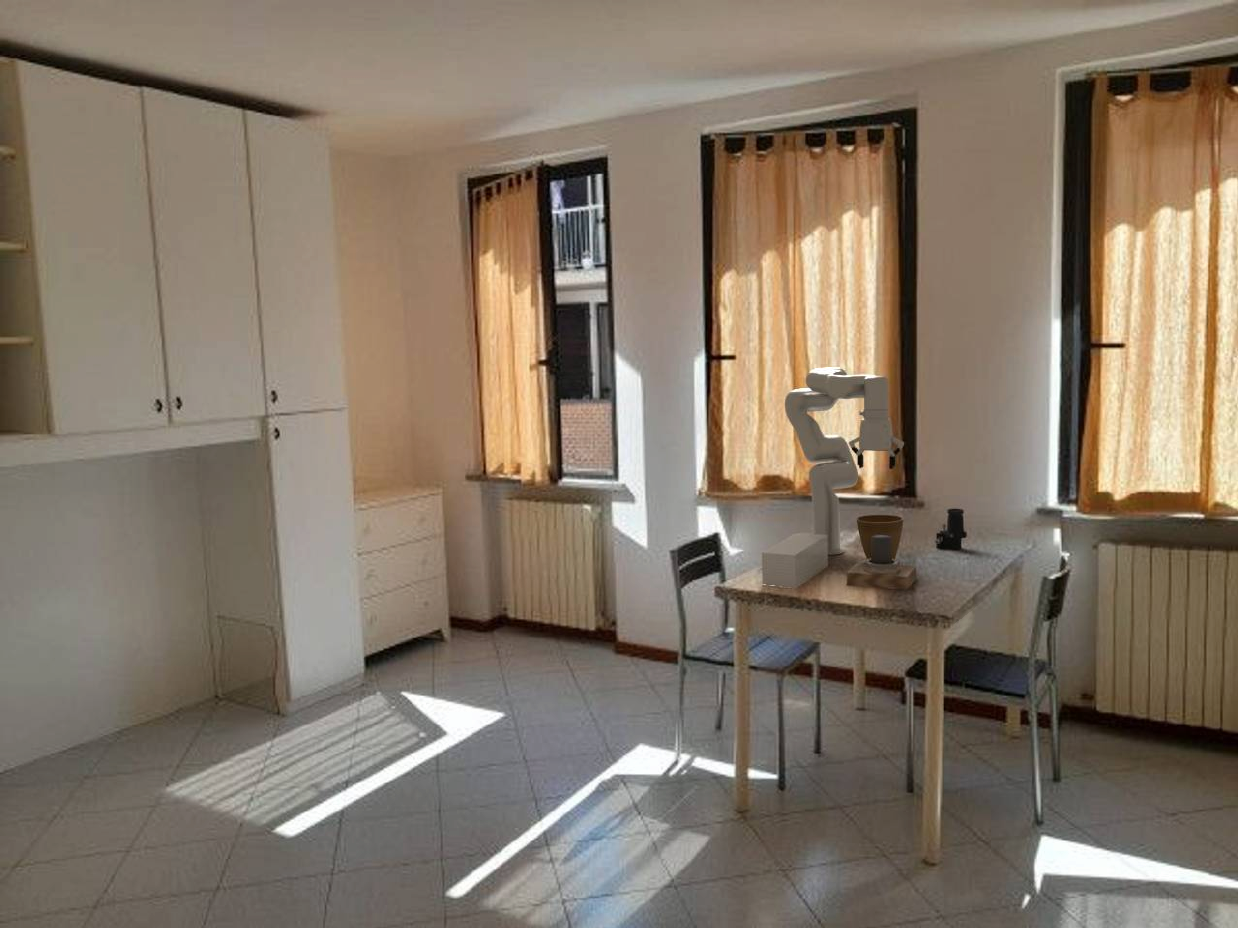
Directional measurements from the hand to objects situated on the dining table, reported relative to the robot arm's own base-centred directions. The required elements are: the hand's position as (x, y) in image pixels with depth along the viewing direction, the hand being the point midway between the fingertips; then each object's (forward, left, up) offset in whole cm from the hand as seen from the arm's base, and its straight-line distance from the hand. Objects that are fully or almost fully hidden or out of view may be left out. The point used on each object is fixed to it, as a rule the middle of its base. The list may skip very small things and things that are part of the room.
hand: (876, 467), depth 311 cm
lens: (+5, -16, -29) cm, 34 cm away
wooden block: (+5, -16, -33) cm, 37 cm away
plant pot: (0, +5, -34) cm, 34 cm away
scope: (+18, +38, -34) cm, 54 cm away
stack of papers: (-22, -16, -34) cm, 43 cm away
